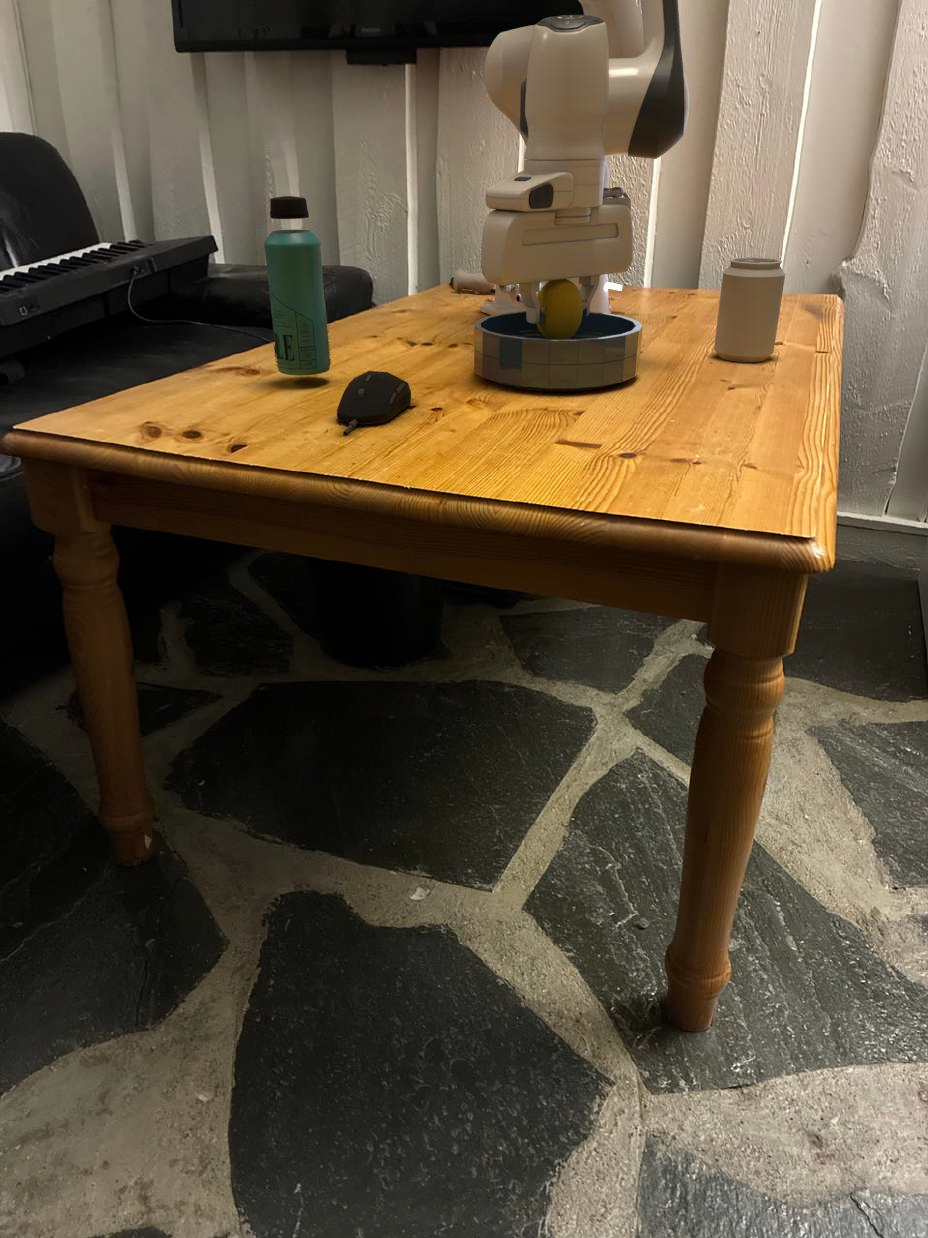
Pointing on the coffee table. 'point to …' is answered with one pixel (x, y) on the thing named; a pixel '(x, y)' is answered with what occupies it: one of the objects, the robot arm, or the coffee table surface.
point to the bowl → (557, 352)
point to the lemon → (560, 309)
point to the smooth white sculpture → (471, 282)
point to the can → (749, 309)
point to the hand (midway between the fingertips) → (558, 319)
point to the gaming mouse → (373, 399)
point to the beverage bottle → (296, 293)
